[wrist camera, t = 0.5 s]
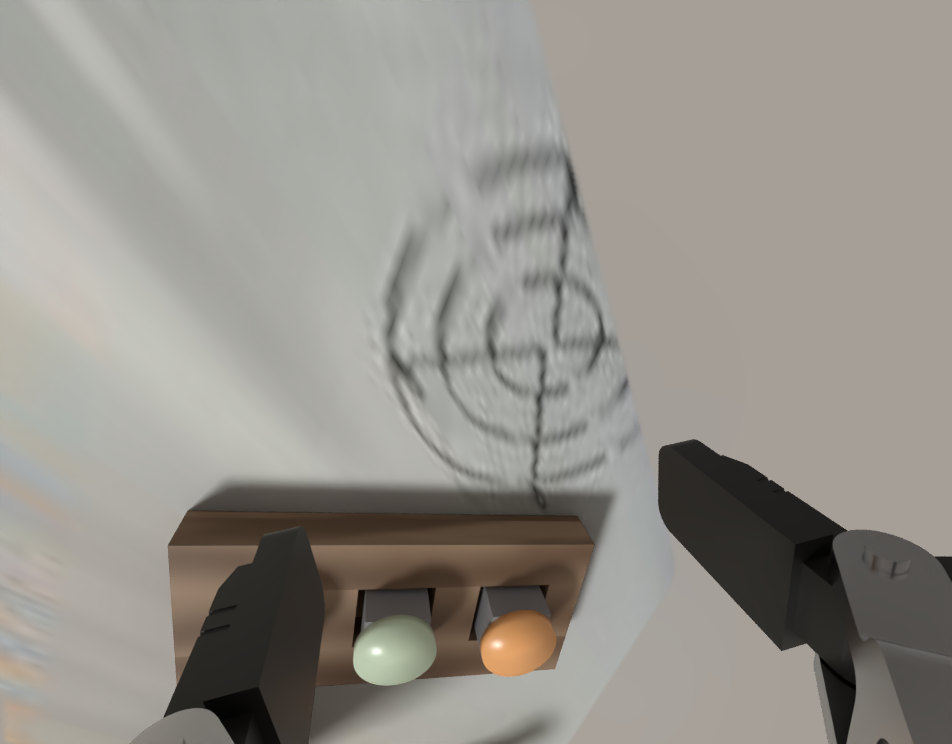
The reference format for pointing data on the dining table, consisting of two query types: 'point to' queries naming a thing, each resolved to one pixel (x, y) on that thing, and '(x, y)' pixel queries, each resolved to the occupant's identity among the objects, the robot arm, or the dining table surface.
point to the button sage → (394, 636)
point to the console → (387, 573)
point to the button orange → (513, 629)
